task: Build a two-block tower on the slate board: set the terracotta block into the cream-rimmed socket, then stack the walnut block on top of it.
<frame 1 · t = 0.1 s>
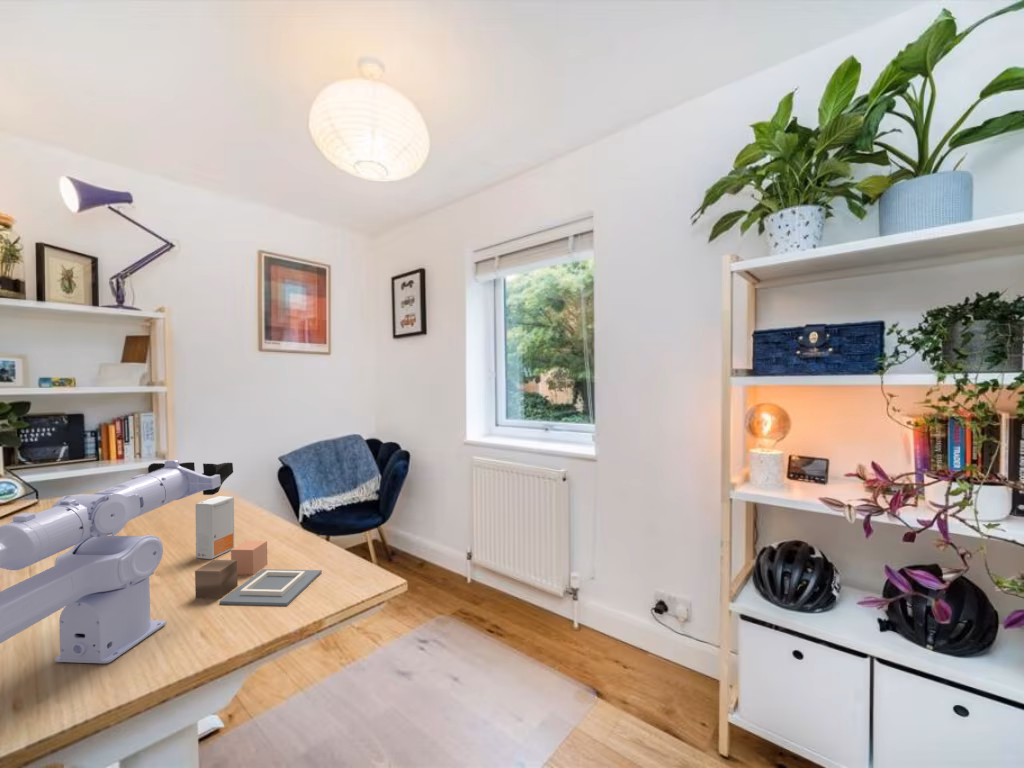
hand: (212, 467, 82), 22 cm above the table, tool horizontal, fingers open, 7 cm apart
skincare box: (216, 554, 94), on the table
terracotta block: (249, 569, 87), on the table
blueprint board: (274, 587, 79), on the table
walnut block: (217, 592, 78), on the table
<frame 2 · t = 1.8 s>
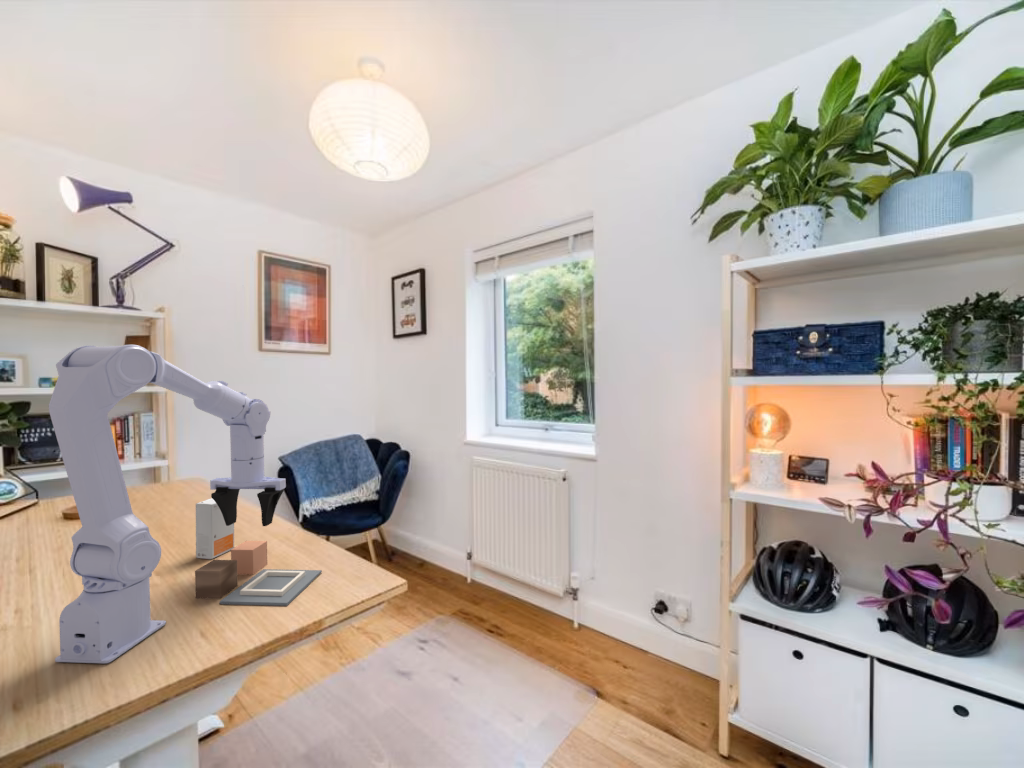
hand: (249, 524, 86), 9 cm above the table, tool pointing down, fingers open, 7 cm apart
nothing on the table moved.
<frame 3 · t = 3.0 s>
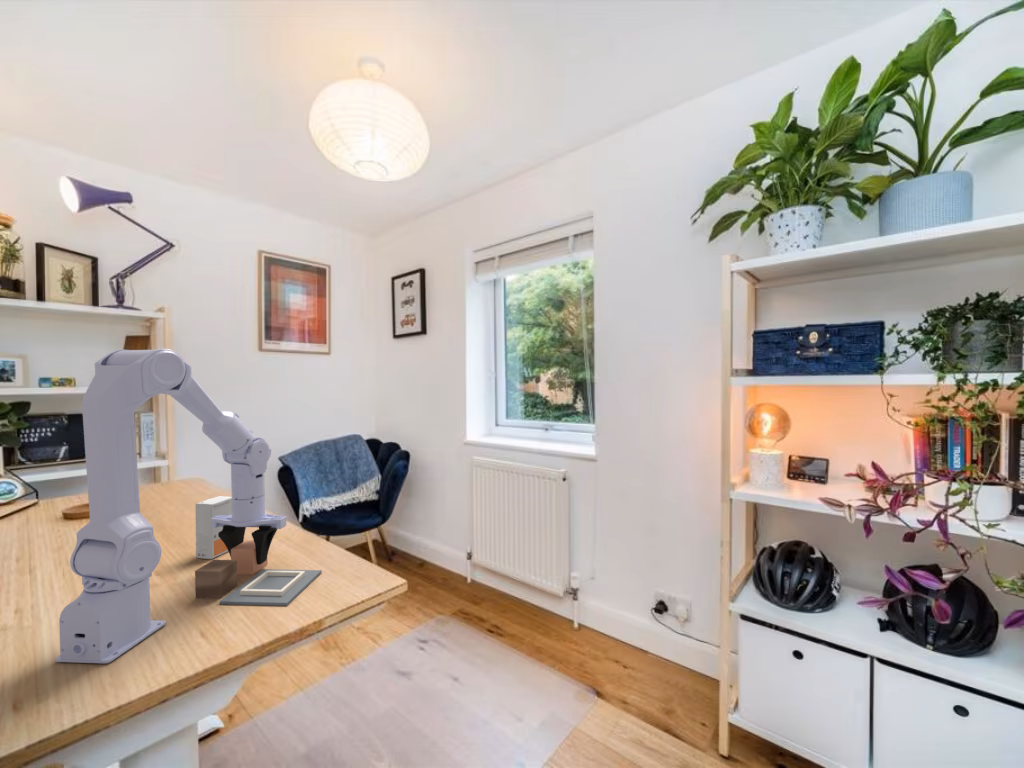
hand: (249, 562, 87), 1 cm above the table, tool pointing down, fingers closed on terracotta block, 4 cm apart
terracotta block: (249, 569, 87), on the table, touching gripper
everything else where it was.
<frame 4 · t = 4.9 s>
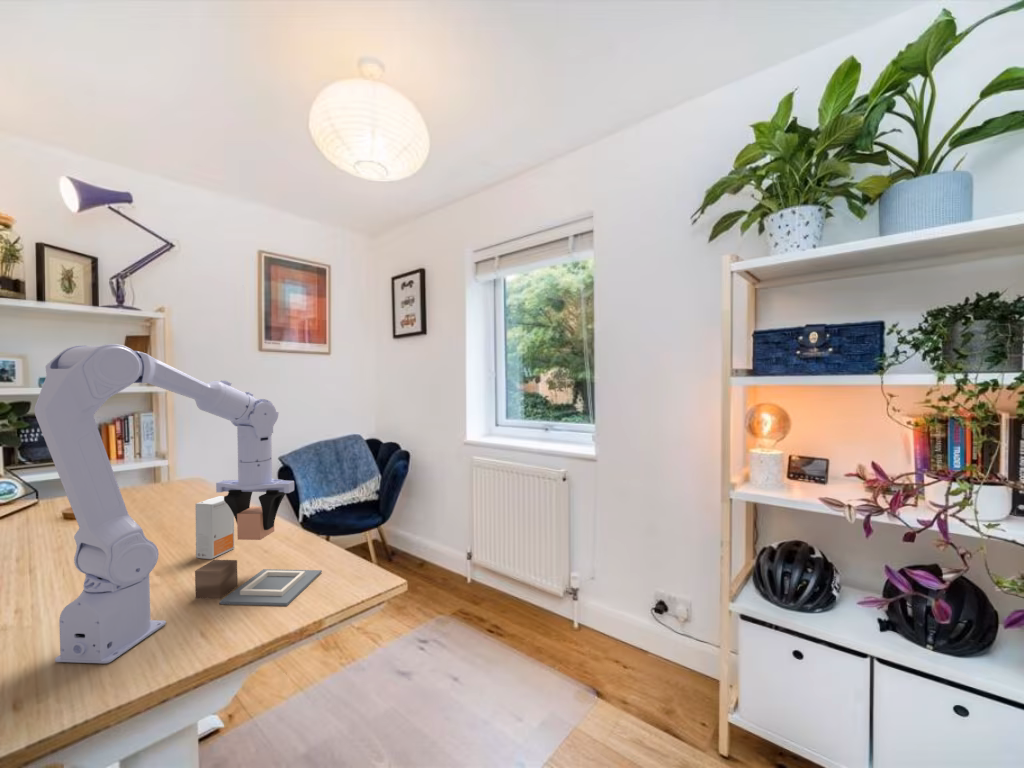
hand: (256, 528, 84), 9 cm above the table, tool pointing down, fingers closed on terracotta block, 4 cm apart
terracotta block: (256, 535, 84), point 8 cm above the table, touching gripper
everything else where it was.
when the fingers open (3 cm above the table, at t = 7.0 s): terracotta block stays where it is, resting on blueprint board.
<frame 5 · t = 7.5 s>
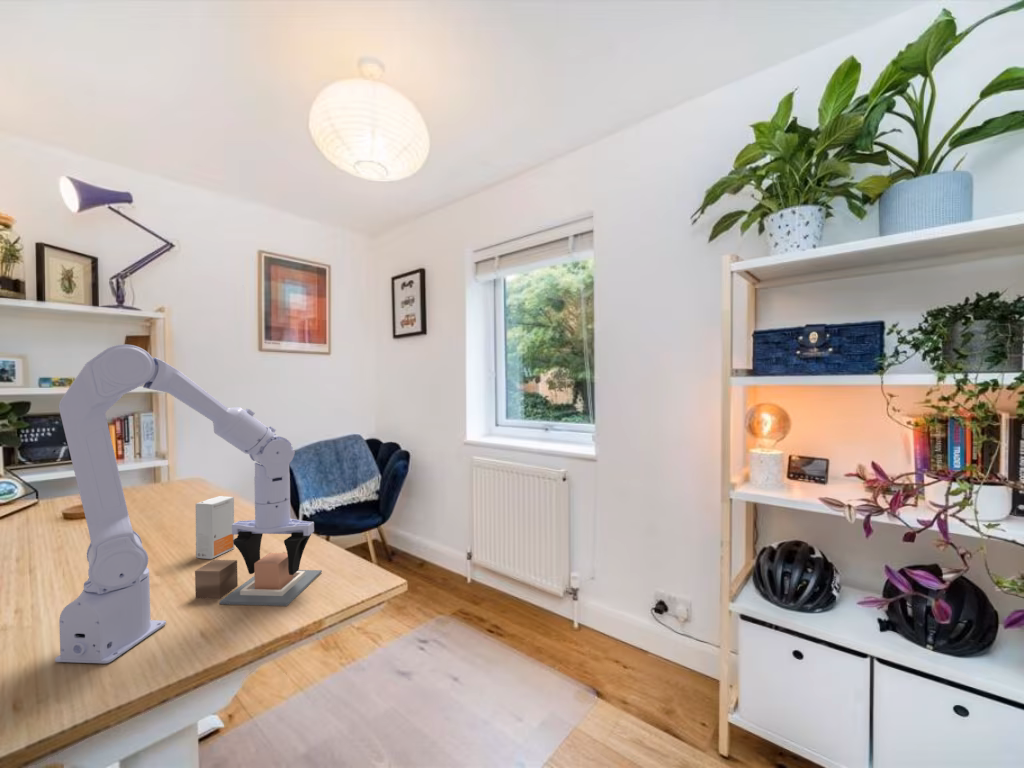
hand: (274, 571, 79), 3 cm above the table, tool pointing down, fingers open, 7 cm apart
terracotta block: (274, 584, 79), resting on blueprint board
everything else where it was.
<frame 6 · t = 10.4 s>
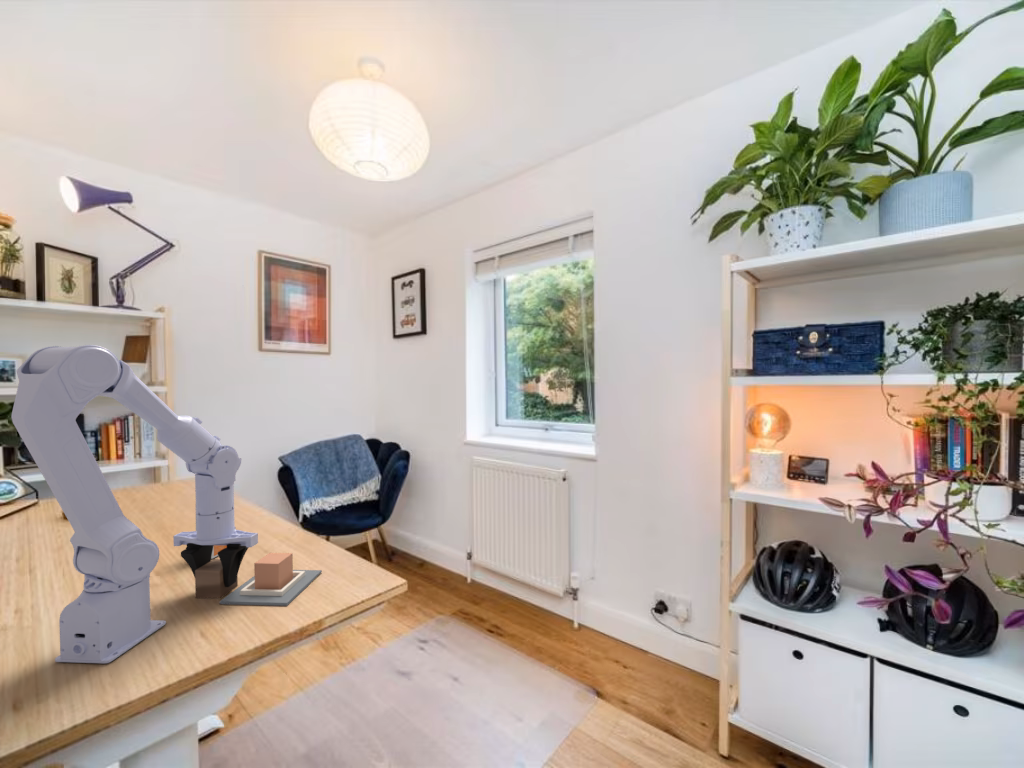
hand: (217, 584, 78), 1 cm above the table, tool pointing down, fingers closed on walnut block, 4 cm apart
walnut block: (217, 591, 78), on the table, touching gripper
everything else where it was.
when the fingers open (8 cm above the table, at t = 13.5 s): walnut block stays where it is, resting on terracotta block.
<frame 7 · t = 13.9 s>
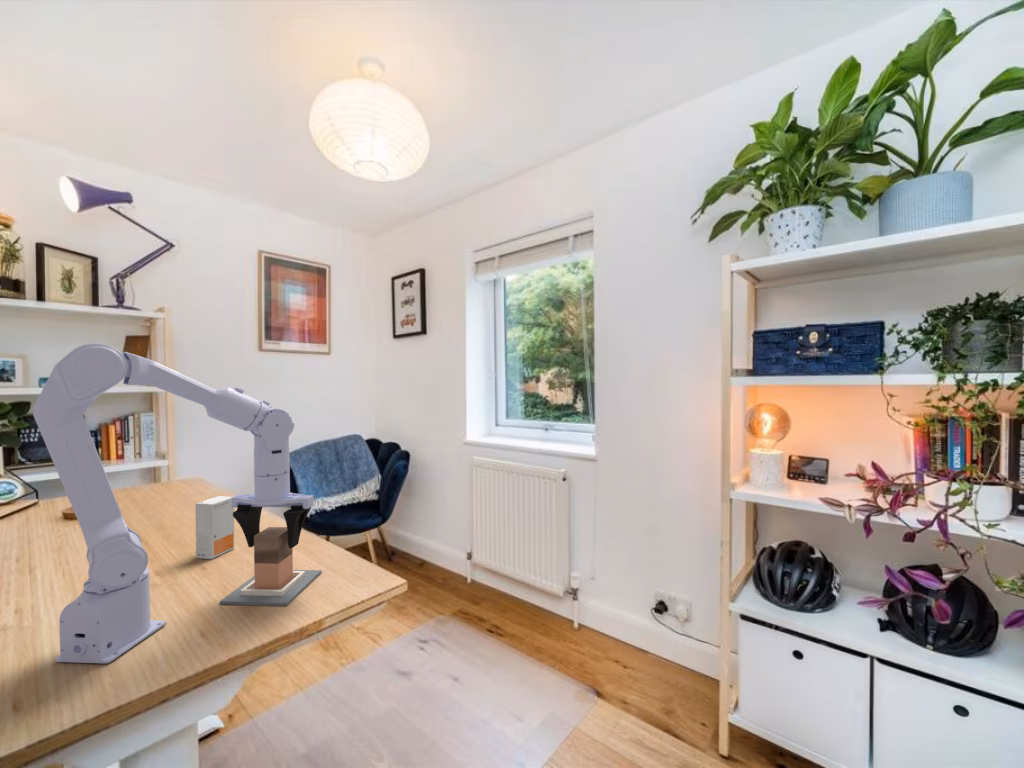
hand: (273, 545, 79), 8 cm above the table, tool pointing down, fingers open, 7 cm apart
terracotta block: (274, 584, 79), resting on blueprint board, touching walnut block
walnut block: (273, 557, 79), point 5 cm above the table, touching terracotta block
everything else where it was.
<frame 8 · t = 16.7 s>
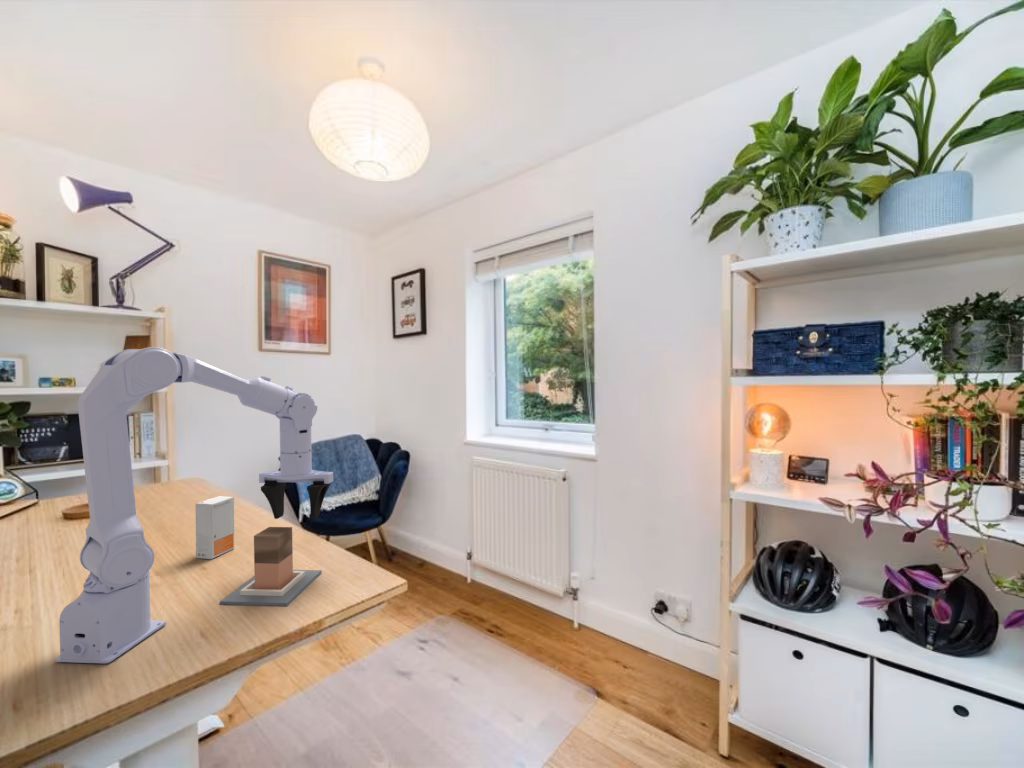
hand: (297, 517, 87), 10 cm above the table, tool pointing down, fingers open, 7 cm apart
nothing on the table moved.
at the end: terracotta block 0.1 cm off-centre on the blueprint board, point 0.5 cm above the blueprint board's base; walnut block 0.0 cm off-centre on the terracotta block, point 5.0 cm above the terracotta block's base; walnut block tilted 0° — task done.
